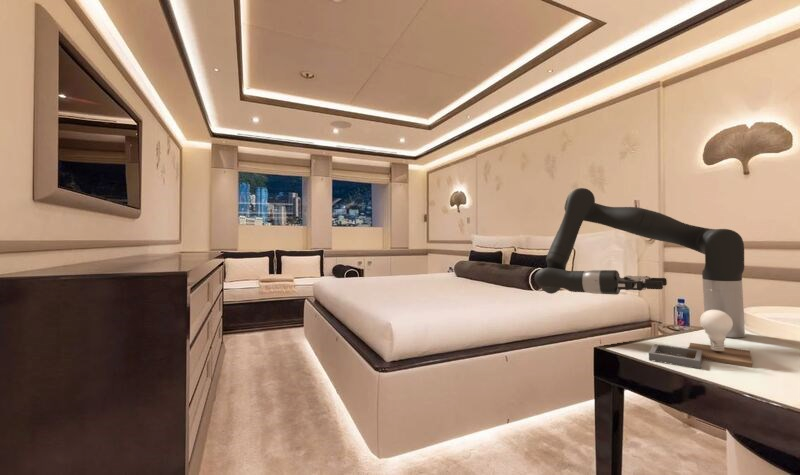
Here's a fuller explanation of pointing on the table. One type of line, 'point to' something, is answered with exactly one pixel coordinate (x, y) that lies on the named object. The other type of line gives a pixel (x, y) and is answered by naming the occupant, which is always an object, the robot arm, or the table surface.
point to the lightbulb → (716, 327)
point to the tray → (675, 359)
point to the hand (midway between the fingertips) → (664, 283)
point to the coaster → (723, 355)
